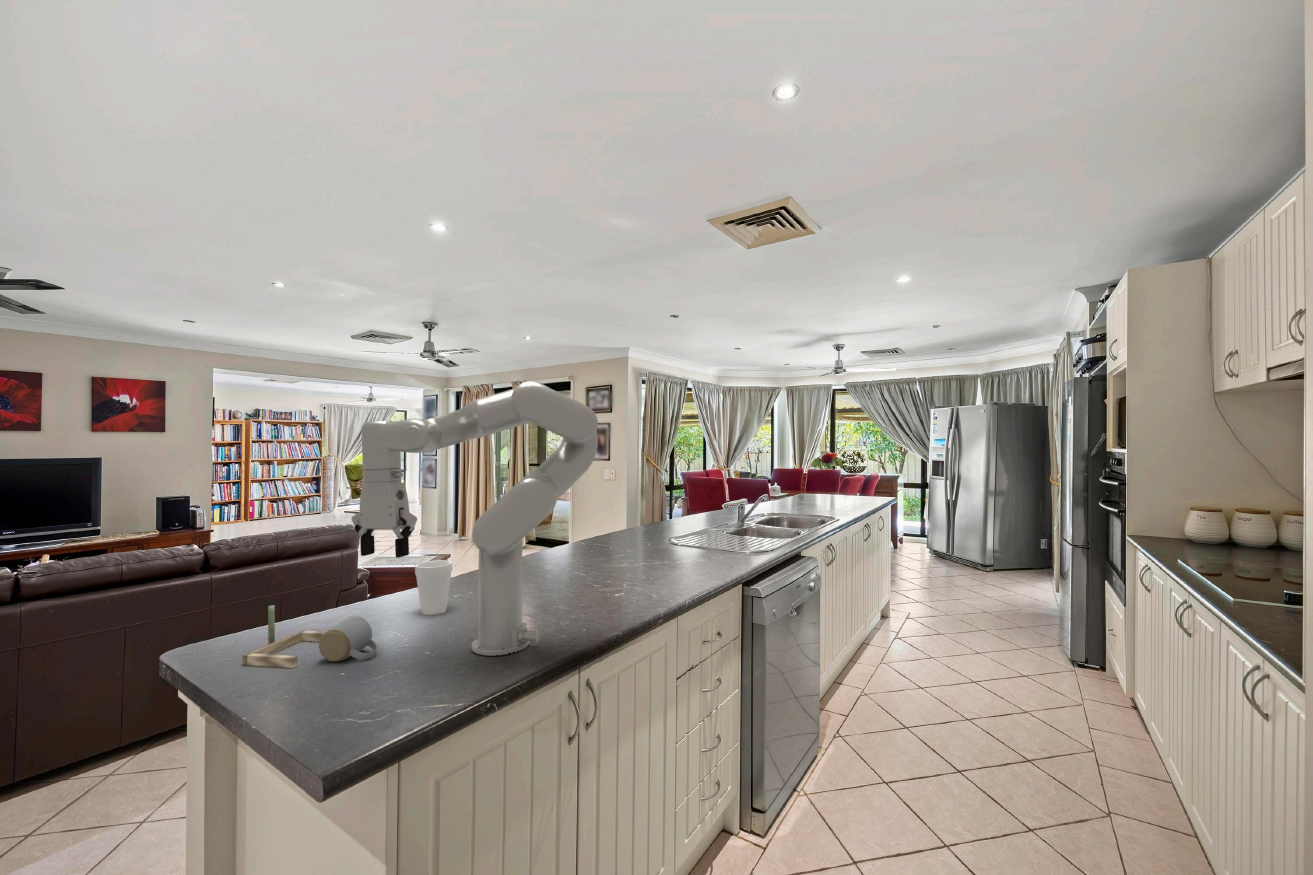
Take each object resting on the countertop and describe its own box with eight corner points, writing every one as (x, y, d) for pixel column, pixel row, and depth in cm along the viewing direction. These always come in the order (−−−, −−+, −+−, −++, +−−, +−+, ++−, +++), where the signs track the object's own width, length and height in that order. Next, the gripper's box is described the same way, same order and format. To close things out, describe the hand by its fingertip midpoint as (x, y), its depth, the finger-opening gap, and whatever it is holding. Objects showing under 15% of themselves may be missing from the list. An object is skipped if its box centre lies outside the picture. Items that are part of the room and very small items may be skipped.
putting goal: (346, 641, 129) (346, 598, 129) (292, 668, 113) (292, 619, 114) (297, 638, 131) (296, 596, 131) (237, 664, 116) (237, 616, 116)
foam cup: (407, 615, 148) (407, 567, 148) (427, 605, 157) (427, 559, 157) (440, 617, 146) (440, 568, 146) (458, 607, 155) (458, 560, 155)
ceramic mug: (315, 663, 116) (315, 626, 116) (340, 648, 124) (340, 614, 124) (364, 665, 115) (364, 628, 115) (385, 650, 123) (386, 616, 123)
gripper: (426, 475, 121) (429, 553, 121) (366, 476, 127) (368, 550, 127) (400, 478, 114) (402, 560, 114) (337, 479, 120) (340, 557, 120)
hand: (384, 555), depth 121 cm, fingers open, 9 cm apart
